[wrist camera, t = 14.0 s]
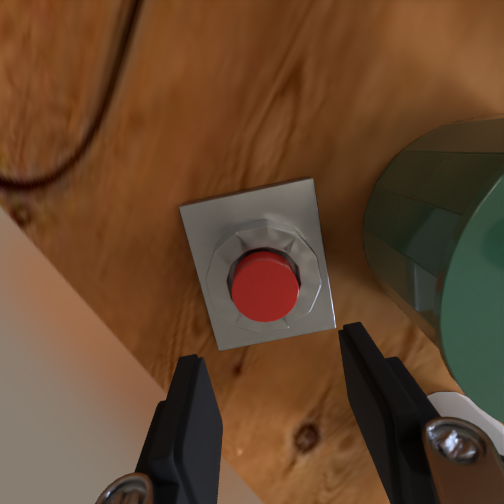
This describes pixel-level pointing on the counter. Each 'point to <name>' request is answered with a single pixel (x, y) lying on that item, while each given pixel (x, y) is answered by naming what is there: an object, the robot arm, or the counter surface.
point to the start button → (264, 286)
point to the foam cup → (468, 415)
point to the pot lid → (475, 300)
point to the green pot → (427, 209)
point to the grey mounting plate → (254, 240)
